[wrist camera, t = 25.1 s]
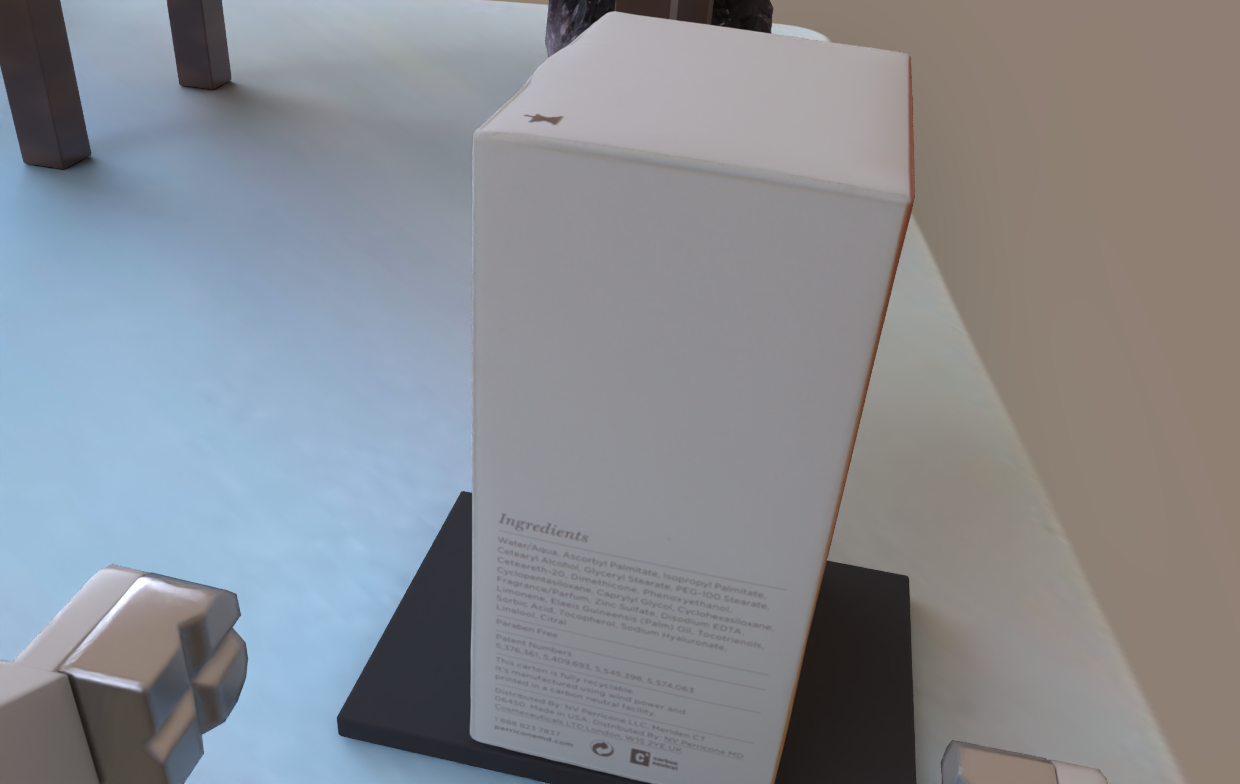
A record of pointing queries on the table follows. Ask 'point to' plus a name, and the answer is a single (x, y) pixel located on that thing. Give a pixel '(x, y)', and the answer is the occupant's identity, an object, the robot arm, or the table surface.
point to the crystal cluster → (585, 3)
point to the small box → (671, 383)
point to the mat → (806, 778)
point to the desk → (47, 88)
